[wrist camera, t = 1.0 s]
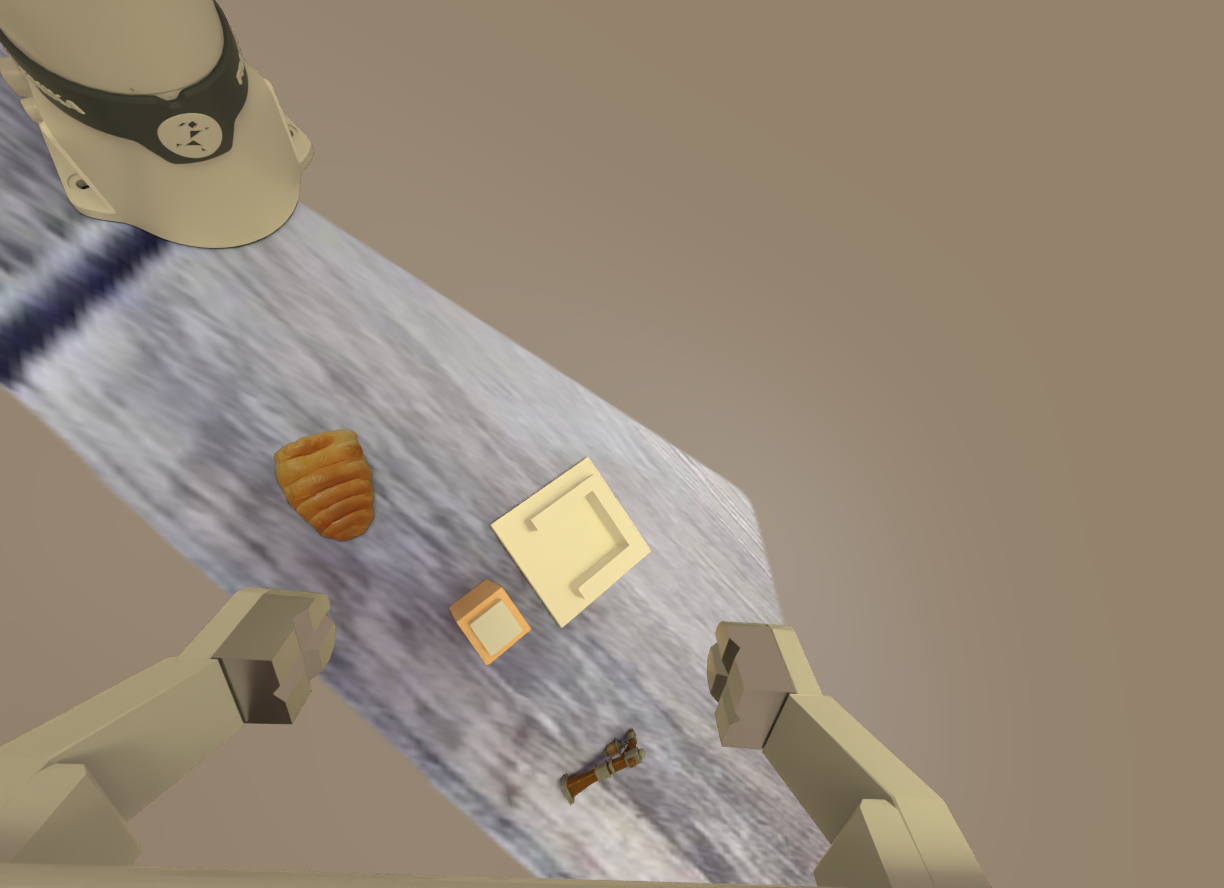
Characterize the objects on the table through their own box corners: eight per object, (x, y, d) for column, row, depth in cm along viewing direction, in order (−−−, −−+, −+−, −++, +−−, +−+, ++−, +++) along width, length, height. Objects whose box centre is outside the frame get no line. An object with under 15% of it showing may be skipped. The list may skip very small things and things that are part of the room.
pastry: (395, 521, 43) (393, 519, 40) (314, 556, 41) (304, 557, 37) (352, 426, 43) (347, 416, 40) (269, 455, 41) (255, 447, 37)
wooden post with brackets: (646, 735, 47) (650, 766, 43) (573, 772, 47) (570, 807, 43) (638, 719, 47) (641, 748, 43) (565, 756, 47) (561, 789, 43)
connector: (448, 607, 43) (457, 624, 34) (486, 578, 45) (504, 588, 36) (473, 642, 44) (489, 669, 35) (510, 613, 45) (534, 631, 36)
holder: (489, 525, 46) (495, 523, 42) (585, 458, 51) (598, 451, 47) (559, 626, 47) (571, 633, 43) (647, 550, 52) (664, 551, 48)
